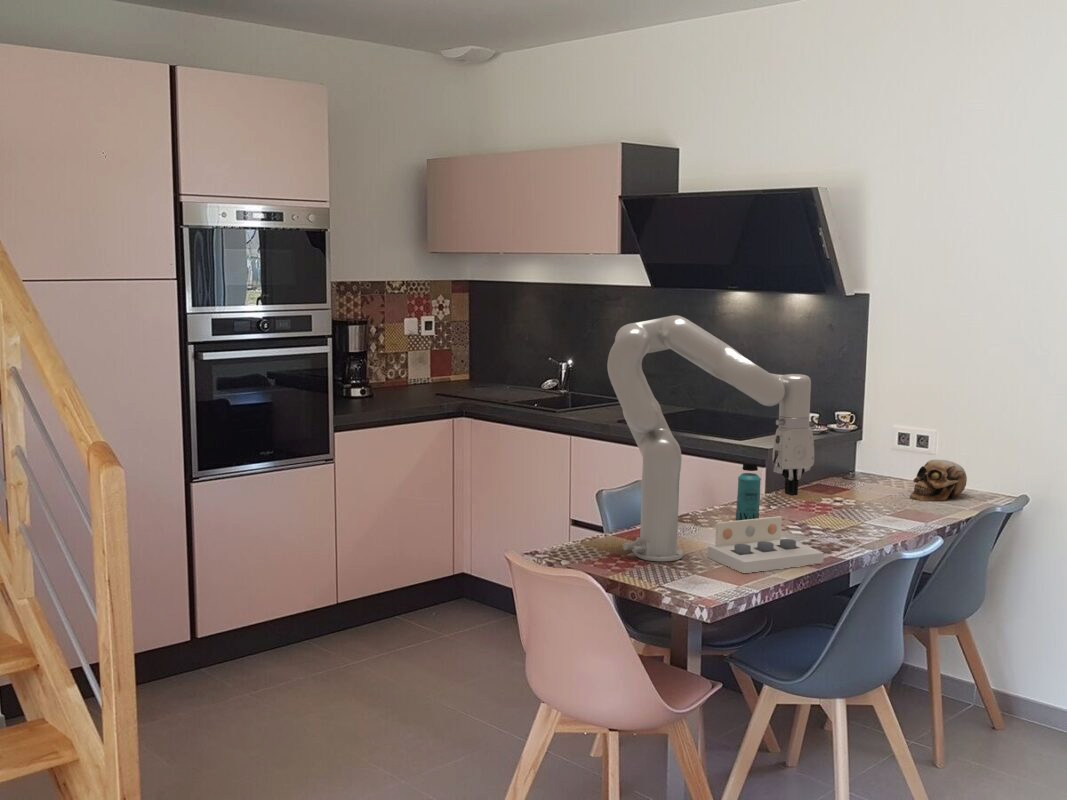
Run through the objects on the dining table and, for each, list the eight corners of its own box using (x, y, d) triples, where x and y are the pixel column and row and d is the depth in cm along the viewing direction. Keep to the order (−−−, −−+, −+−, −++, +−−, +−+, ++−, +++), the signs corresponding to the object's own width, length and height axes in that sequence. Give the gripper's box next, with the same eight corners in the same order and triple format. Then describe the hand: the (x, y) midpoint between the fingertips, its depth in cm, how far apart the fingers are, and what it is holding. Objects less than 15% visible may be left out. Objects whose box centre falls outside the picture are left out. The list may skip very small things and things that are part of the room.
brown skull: (907, 498, 347) (912, 457, 347) (916, 494, 363) (921, 455, 362) (958, 506, 340) (963, 464, 339) (966, 502, 355) (971, 462, 354)
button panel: (743, 574, 261) (745, 538, 260) (707, 557, 275) (708, 523, 274) (823, 564, 271) (825, 529, 269) (783, 548, 285) (785, 515, 284)
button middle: (763, 557, 270) (763, 546, 270) (753, 553, 274) (754, 542, 273) (776, 556, 272) (776, 544, 271) (766, 552, 275) (767, 540, 275)
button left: (740, 560, 267) (740, 548, 267) (730, 556, 271) (731, 544, 270) (753, 559, 269) (753, 547, 268) (744, 554, 272) (744, 543, 272)
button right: (785, 555, 273) (786, 543, 272) (776, 551, 276) (776, 539, 276) (798, 553, 275) (799, 542, 274) (788, 549, 278) (789, 538, 278)
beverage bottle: (730, 530, 304) (733, 460, 301) (750, 528, 306) (753, 459, 303) (742, 535, 297) (745, 464, 295) (763, 534, 300) (766, 463, 297)
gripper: (778, 427, 265) (776, 499, 267) (827, 423, 271) (824, 495, 273) (760, 422, 272) (758, 493, 274) (808, 419, 278) (805, 489, 280)
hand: (791, 494), depth 274 cm, fingers closed
